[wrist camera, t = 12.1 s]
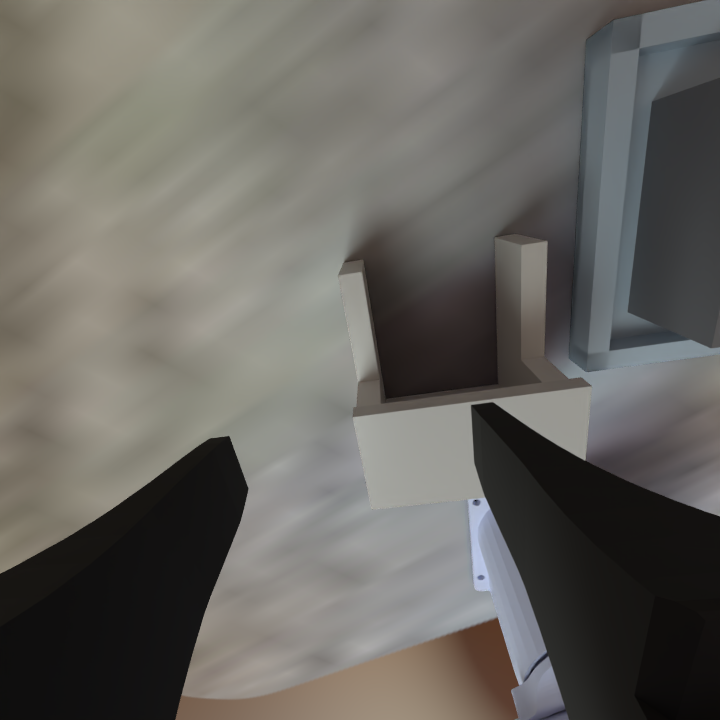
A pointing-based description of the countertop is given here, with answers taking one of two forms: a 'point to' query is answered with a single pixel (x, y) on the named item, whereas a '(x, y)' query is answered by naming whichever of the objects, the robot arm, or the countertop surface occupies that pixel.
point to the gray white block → (681, 217)
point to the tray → (628, 175)
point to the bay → (461, 390)
